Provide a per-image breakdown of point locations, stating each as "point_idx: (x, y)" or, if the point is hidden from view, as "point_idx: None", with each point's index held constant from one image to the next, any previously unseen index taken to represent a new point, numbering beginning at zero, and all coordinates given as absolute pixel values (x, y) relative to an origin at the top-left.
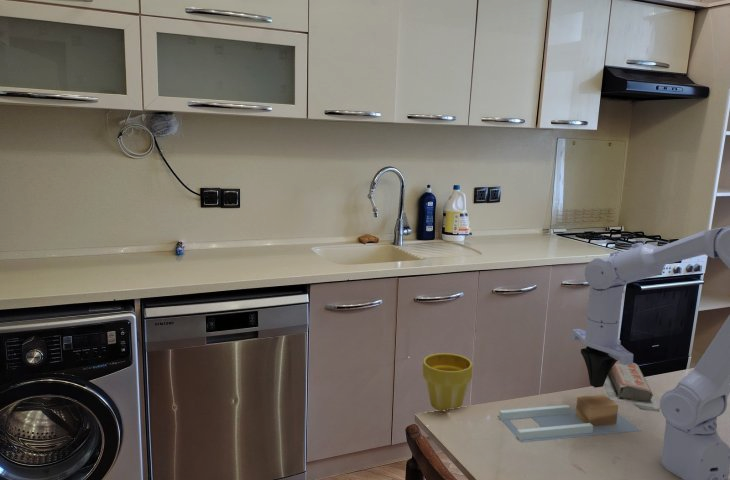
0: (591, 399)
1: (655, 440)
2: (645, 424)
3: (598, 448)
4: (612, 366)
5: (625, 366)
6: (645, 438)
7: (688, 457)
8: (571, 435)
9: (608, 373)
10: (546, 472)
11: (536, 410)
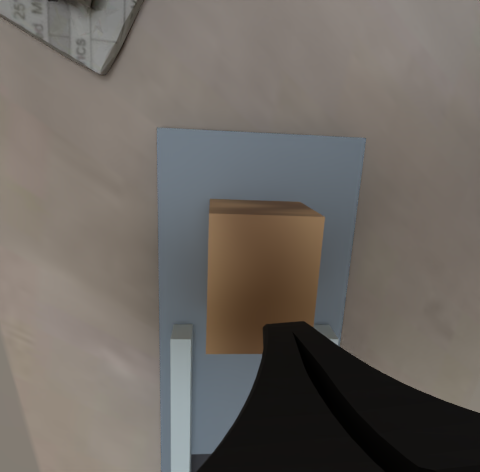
0: (243, 306)
1: (400, 109)
2: (295, 49)
3: (378, 331)
4: (426, 397)
5: None
6: (378, 136)
7: None
8: None
9: (359, 360)
10: None
11: (189, 461)
